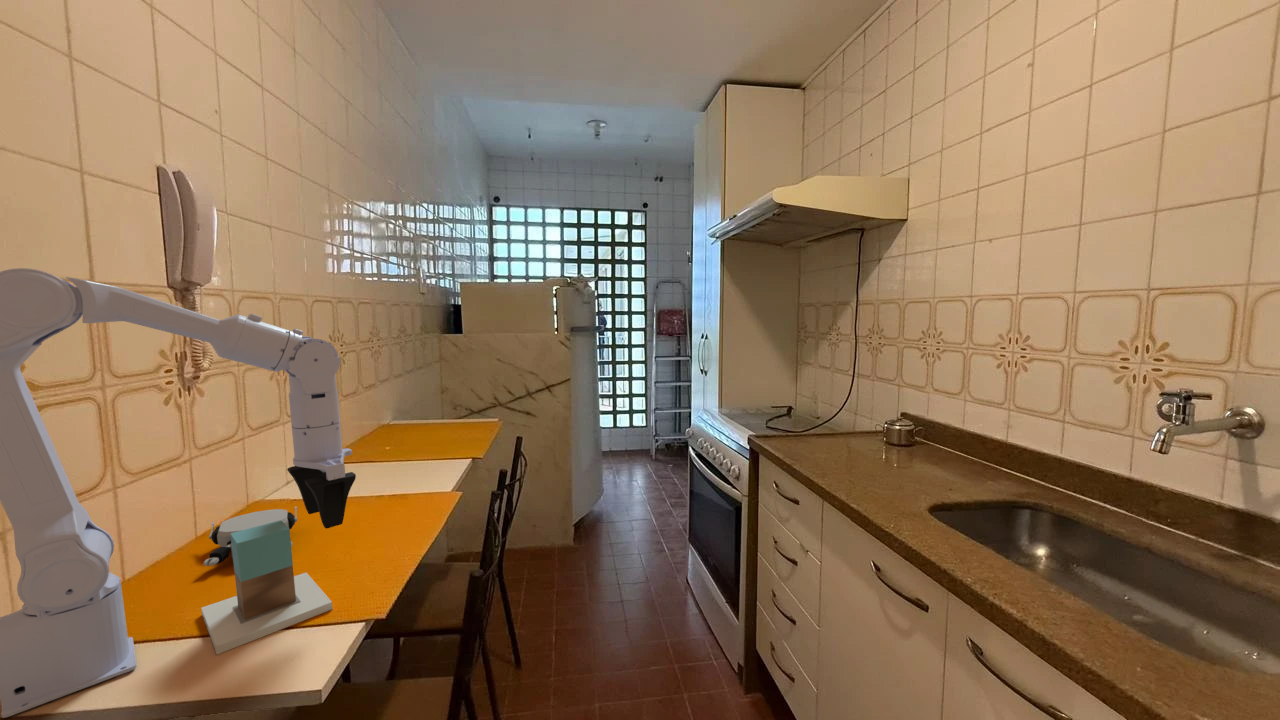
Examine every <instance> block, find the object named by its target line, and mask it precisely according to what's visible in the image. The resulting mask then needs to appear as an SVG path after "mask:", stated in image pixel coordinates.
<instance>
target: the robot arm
mask: <svg viewBox="0 0 1280 720" xmlns="http://www.w3.org/2000/svg"><path fill="white" fill-rule="evenodd" d="M65 278H66V279H68V280H69V281H70V282H71V283H70V282H69V281H67V280H64V279H63V278H60V277H58V276H56V275H54V274H52V273H49V272H47V271H43V270H40V269H36V268H35V269H33V268H26V267H25V268H21V267H20V268H11V269H5V270H1V271H0V503H1V505H2V507H3V508H2V509H3V510H4V512H5V513H6V516H7V518H8V520H9V522H10V525H11V526H12V528H13V529H12V530H13V537H14V549H15V550H14V551H15V556H16V558H17V560H18V562H19V564H20V574H19V575H20V576H19V578H18V581H17V587H16V592H17V596H18V597H19V600H20V601H21V602H22V603H23V605H22V606H21V609H19V610H17V611H14V612H11V613H9V614H6V615H3V616H0V705H1V713H0V714H1V718H3V719H4V718H8V717H9V718H10V717H11V716H14V715H17V714H20V713H22V712H25V711H28V710H30V709H33V708H37V707H38V706H41V705H44V704H46V703H48V702H52V701H55V700H57V699H60V698H62V697H65V696H68V695H71V694H72V693H76V692H77V691H81V690H83V689H86V688H89V687H91V686H94V685H97V684H99V683H101V682H105V681H107V680H110V679H113V678H115V677H118V676H120V675H122V674H126V673H128V672H131V671H134V670H135V669H136V668H137V659H136V652H135V651H136V650H135V645H134V637H132V636H129V635H128V630H127V628H128V627H127V622H126V621H127V620H126V613H125V606H124V597H123V591H122V583H121V582H122V581H121V578H120V576H118V575H116V574H114V573H112V572H110V561H111V557H112V555H113V553H114V549H115V544H114V539H113V537H112V536H111V534H110V533H109V532H107V530H105V529H103V528H101V527H99V526H98V525H97V524H95V523H94V521H93V520H92V519H91V517H90V515H89V512H88V511H87V509H86V508H85V507H84V506H83V505H82V504H81V503H80V502H79V499H78V498H77V495H76V494H75V493H76V492H75V491H74V488H73V486H72V484H71V481H70V480H69V476H68V475H67V472H66V471H65V468H64V466H63V464H62V462H61V459H60V457H59V454H58V452H57V450H56V447H55V445H54V443H53V440H52V439H51V436H50V433H49V432H48V430H47V427H46V425H45V423H44V421H43V418H42V416H41V413H40V411H39V409H38V407H37V405H36V403H35V400H34V399H33V396H32V393H31V391H30V389H29V386H28V385H27V382H26V380H25V377H24V375H23V373H22V370H21V366H22V365H23V364H24V363H25V362H26V361H27V360H28V359H29V357H31V356H32V355H33V353H35V351H36V350H38V349H39V347H40V346H42V343H43V342H44V341H46V340H48V339H50V338H52V337H53V336H56V335H57V334H59V333H61V332H63V331H65V330H66V329H69V328H70V327H72V326H73V325H75V324H76V323H78V322H79V320H80V319H81V318H82V323H83V324H98V323H99V324H100V323H101V324H102V323H115V322H126V323H130V324H134V325H138V326H142V327H145V328H149V329H154V330H158V331H162V332H166V333H169V334H170V333H171V334H174V335H177V336H182V337H185V338H189V339H194V340H197V341H202V342H206V343H209V344H210V345H211V347H212V348H213V350H214V351H215V354H217V356H218V357H219V358H222V359H226V360H229V361H234V362H238V363H241V364H246V365H249V366H253V367H256V368H260V369H264V370H267V371H268V370H269V371H271V372H275V373H276V372H280V371H285V372H286V373H287V374H288V383H289V384H288V385H289V392H288V400H289V412H290V422H291V424H290V425H291V435H292V444H293V445H292V446H293V455H294V456H293V459H292V463H293V466H290V467H288V468H287V469H286V470H287V472H288V473H289V474H290V476H291V477H292V479H293V480H294V482H295V484H296V485H297V487H298V490H299V492H300V495H301V498H302V502H303V504H304V505H303V506H304V508H305V510H306V512H307V513H308V515H312V514H316V513H319V518H320V520H321V524H322V525H323V527H324V528H325V529H330V528H333V527H337V526H340V525H343V522H344V517H345V513H346V508H347V506H346V505H347V503H348V502H347V501H348V496H349V494H350V492H351V488H352V486H353V484H354V482H355V481H356V477H357V475H356V474H357V473H355V472H352V471H350V472H346V469H345V467H346V466H345V463H344V462H345V461H344V460H345V457H348V456H351V455H353V450H352V449H351V448H349V447H348V448H343V441H342V439H343V438H342V426H341V415H340V414H341V413H340V402H339V390H338V389H337V378H336V373H337V372H338V371H339V370H340V367H341V364H342V358H341V357H339V353H338V351H337V350H336V348H335V346H333V344H331V343H330V342H328V341H326V340H324V339H321V338H314V337H311V336H309V335H308V336H303V334H304V331H303V330H301V329H297V328H293V329H292V330H289V329H287V328H283V327H281V326H277V325H274V324H271V323H268V322H264V321H262V320H263V317H262V316H261V315H257V314H253V313H249V314H248V316H245V315H242V314H239V313H238V314H234V315H231V316H228V317H226V318H223V319H217V318H215V317H211V316H209V315H206V314H203V313H200V312H197V311H193V310H190V309H187V308H184V307H181V306H179V305H176V304H172V303H168V302H165V301H162V300H159V299H157V298H154V297H150V296H147V295H144V294H141V293H138V292H136V291H132V290H129V289H126V288H123V287H120V286H119V287H118V286H115V285H110V284H106V283H101V282H95V281H91V280H85V279H80V278H74V277H70V276H66V277H65Z"/></svg>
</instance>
